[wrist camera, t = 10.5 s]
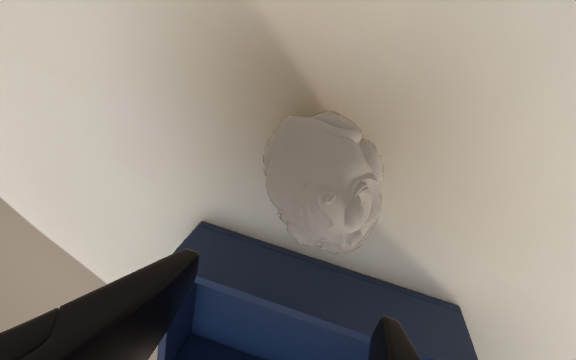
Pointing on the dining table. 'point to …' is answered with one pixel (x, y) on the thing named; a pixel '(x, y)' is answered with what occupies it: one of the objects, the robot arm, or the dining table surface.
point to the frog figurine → (324, 180)
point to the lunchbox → (296, 308)
